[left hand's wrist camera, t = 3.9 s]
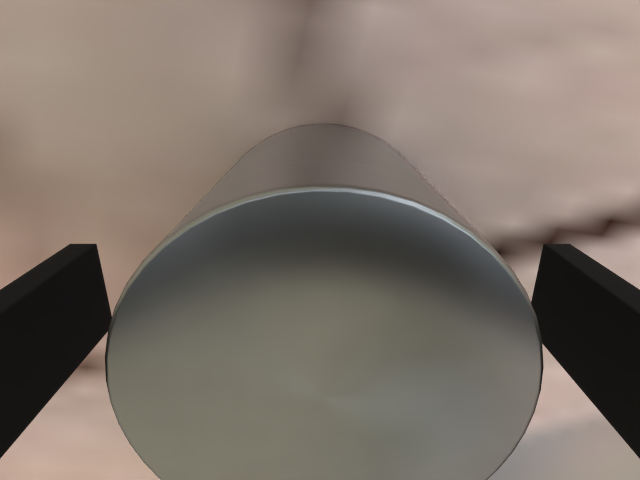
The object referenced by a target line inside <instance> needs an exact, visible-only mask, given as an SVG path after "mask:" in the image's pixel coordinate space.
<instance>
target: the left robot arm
mask: <svg viewBox="0 0 640 480" xmlns="http://www.w3.org/2000/svg"><path fill="white" fill-rule="evenodd" d="M531 304H532V307H533V309H534V312H535V314H536V317H537V321H538V326H539V330H540V335H541V339H542V343H543V345H544V346H545V347H546V348H547V349H548V350H549V352H550V353H551V354H552V355H553V356H554V358H555V359H556V360H557V361H558V362H559V364H560V365H561V366H562V367H563V368H564V369H565V371H566V372H567V373H568V374H569V375H570V377H571V378H572V379H573V380H574V381H575V382H576V384H577V385H578V386H579V387H580V388H581V390H582V391H583V392H584V393H585V394H586V395H587V397H588V398H589V399H590V400H591V401H592V403H593V404H594V405H595V406H596V407H597V408H598V410H599V411H600V412H601V413H602V414H603V416H604V417H605V418H606V419H607V420H608V422H609V423H610V424H611V425H612V426H613V427H614V429H615V430H616V431H617V432H618V433H619V435H620V436H621V437H622V438H623V439H624V440H625V442H626V443H627V444H628V445H629V446H630V448H631V449H632V450H633V451H634V452H635V453H636V455H637V456H638V457H639V458H640V290H639V289H638V288H636V287H635V286H633V285H632V284H630V283H628V282H627V281H625V280H624V279H622V278H621V277H619V276H618V275H616V274H615V273H613V272H612V271H610V270H609V269H607V268H606V267H604V266H603V265H601V264H600V263H598V262H596V261H595V260H593V259H592V258H590V257H589V256H587V255H586V254H584V253H583V252H581V251H580V250H578V249H577V248H575V247H574V246H572V245H571V244H544V245H543V249H542V254H541V259H540V264H539V268H538V273H537V278H536V283H535V287H534V292H533V297H532V301H531ZM111 320H112V316H111V311H110V306H109V301H108V297H107V292H106V287H105V283H104V278H103V273H102V268H101V264H100V259H99V254H98V249H97V245H96V244H69V245H68V246H66V247H65V248H63V249H62V250H60V251H59V252H57V253H56V254H54V255H53V256H51V257H50V258H48V259H47V260H45V261H44V262H42V263H40V264H39V265H37V266H36V267H34V268H33V269H31V270H30V271H28V272H27V273H25V274H24V275H22V276H21V277H19V278H18V279H16V280H15V281H13V282H12V283H10V284H8V285H7V286H5V287H4V288H2V289H1V290H0V458H1V457H2V456H3V455H4V453H5V452H6V451H7V450H8V449H9V448H10V446H11V445H12V444H13V443H14V442H15V440H16V439H17V438H18V437H19V436H20V435H21V433H22V432H23V431H24V430H25V429H26V427H27V426H28V425H29V424H30V423H31V422H32V420H33V419H34V418H35V417H36V416H37V414H38V413H39V412H40V411H41V410H42V408H43V407H44V406H45V405H46V404H47V403H48V401H49V400H50V399H51V398H52V397H53V395H54V394H55V393H56V392H57V391H58V390H59V388H60V387H61V386H62V385H63V384H64V382H65V381H66V380H67V379H68V378H69V377H70V375H71V374H72V373H73V372H74V371H75V369H76V368H77V367H78V366H79V365H80V364H81V362H82V361H83V360H84V359H85V358H86V356H87V355H88V354H89V353H90V352H91V350H92V349H93V348H94V347H95V346H96V345H97V343H98V342H99V341H100V340H101V339H102V337H103V336H104V335H105V334H106V333H107V332H108V330H109V326H110V323H111Z"/></svg>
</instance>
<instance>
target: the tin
mask: <svg viewBox="0 0 640 480" xmlns="http://www.w3.org/2000/svg"><path fill="white" fill-rule="evenodd" d="M105 367H106V382H107V387H108V392H109V396H110V401H111V404H112V407H113V410H114V412H115V415H116V418H117V420H118V423H119V425H120V427H121V429H122V430H123V432H124V434H125V436H126V438H127V439H128V441H129V443H130V444H131V446H132V447H133V448H134V450H135V451H136V453H137V454H138V455H139V457H140V458H141V459H142V461H143V462H144V463H145V464H146V465H147V466H148V467H149V468H150V469H151V470H152V471H153V472H154V473H155V474H156V475H157V476H158V477H159V478H160V479H161V480H487V479H488V478H489V477H490V476H491V475H492V474H494V473H495V472H496V471H497V470H498V469H499V468H500V466H501V465H502V464H503V463H504V462H505V461H506V459H507V458H508V457H509V456H510V455H511V453H512V452H513V451H514V449H515V448H516V446H517V445H518V443H519V441H520V440H521V438H522V437H523V435H524V434H525V432H526V430H527V427H528V425H529V423H530V421H531V418H532V416H533V414H534V412H535V408H536V405H537V401H538V398H539V394H540V391H541V383H542V374H543V351H542V339H541V335H540V330H539V326H538V321H537V317H536V314H535V312H534V309H533V307H532V304H531V302H530V300H529V297H528V295H527V292H526V291H525V289H524V288H523V286H522V284H521V283H520V281H519V279H518V278H517V276H516V275H515V273H514V271H513V270H512V269H511V268H510V266H509V265H508V264H507V263H506V262H505V261H504V259H503V258H502V257H501V256H500V255H499V254H498V253H497V251H496V250H495V249H494V248H493V247H492V246H491V245H490V244H489V243H488V242H487V241H486V240H485V239H484V238H483V237H482V236H481V235H480V234H479V233H478V232H477V231H476V230H475V229H474V228H473V227H472V226H471V225H470V224H469V223H468V222H467V221H466V220H465V219H464V218H463V217H462V216H461V215H460V214H459V213H458V212H457V211H456V210H455V209H454V208H453V207H452V206H451V205H450V204H449V203H448V202H447V201H446V199H445V198H444V197H443V196H442V195H441V194H440V193H439V192H438V191H437V190H436V189H435V188H434V187H433V186H432V185H431V184H430V183H429V182H428V181H427V180H426V179H425V178H424V177H423V176H422V175H421V174H420V173H419V172H418V171H417V170H416V169H415V168H414V167H413V166H412V165H411V164H410V163H409V162H408V161H407V160H406V159H405V158H404V157H403V156H402V155H401V154H400V153H398V152H397V151H396V150H395V149H394V148H393V147H391V146H390V145H389V144H387V143H385V142H384V141H382V140H381V139H379V138H378V137H375V136H373V135H371V134H369V133H367V132H365V131H362V130H358V129H355V128H352V127H348V126H341V125H335V124H312V125H303V126H299V127H295V128H291V129H287V130H284V131H282V132H279V133H277V134H274V135H272V136H270V137H269V138H267V139H265V140H264V141H262V142H260V143H259V144H257V145H256V146H255V147H253V148H252V149H251V150H250V151H248V152H247V153H246V154H245V155H244V156H243V157H242V158H241V159H240V160H239V161H238V162H237V163H236V164H235V166H234V167H233V168H232V169H231V170H230V171H229V172H228V173H227V174H226V175H225V176H224V177H223V178H222V179H221V180H220V181H219V182H218V183H217V184H216V185H215V186H214V187H213V188H212V189H211V191H210V192H209V193H208V194H207V195H206V196H205V197H204V198H203V199H202V200H201V201H200V202H199V203H198V204H197V205H196V206H195V207H194V208H193V209H192V210H191V211H190V212H189V213H188V214H187V216H186V217H185V218H184V219H183V220H182V221H181V222H180V223H179V224H178V225H177V226H176V227H175V228H174V229H173V230H172V231H171V232H170V233H169V234H168V235H167V236H166V237H165V238H164V239H163V241H162V242H161V243H160V244H159V245H158V246H157V247H156V248H155V249H154V250H153V251H152V252H151V253H150V254H149V255H148V256H147V257H146V258H145V259H144V260H143V261H142V263H141V264H140V266H139V267H138V268H137V270H136V271H135V273H134V274H133V275H132V277H131V278H130V280H129V281H128V282H127V284H126V286H125V288H124V290H123V292H122V294H121V296H120V298H119V300H118V302H117V304H116V306H115V309H114V313H113V316H112V320H111V323H110V326H109V330H108V336H107V345H106V353H105Z"/></svg>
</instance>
